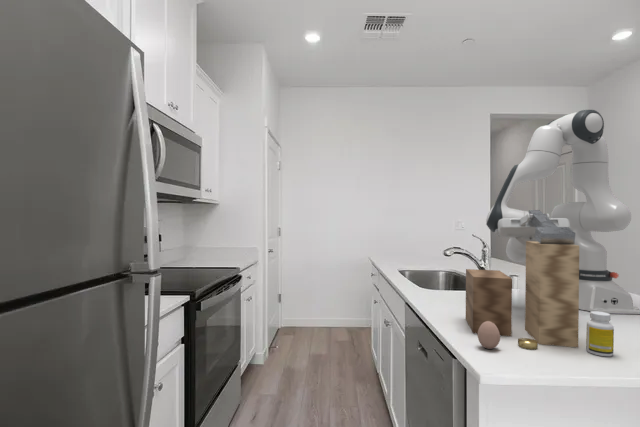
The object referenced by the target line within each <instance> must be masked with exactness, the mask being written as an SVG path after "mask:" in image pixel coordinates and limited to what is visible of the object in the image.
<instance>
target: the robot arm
mask: <svg viewBox="0 0 640 427" xmlns="http://www.w3.org/2000/svg"><path fill="white" fill-rule="evenodd" d="M604 122H605V121H604V118H603V116H602V115H601V113H600V112H599V111H597V110H595V109H583V110H579V111H576V112H572V113H569V114H566V115H563V116H561V117H559V118H557V119H554V120H552V121H549V122H548V123H547V124H546V125H541V126H539V127H537V128H536V129H535V130H534V132H533V134H532V135H531V138H530V141H529V143H528V146H527V150H526V152H525V156H524V158H523V159H522V161H521V162H520V163H519V164H514V166H513V167H512V168H511V170H510V171H509V173H508V176H507V178H506V179H505V180H504V181H503V182H504V183H503V185H502V187H501V188H500V191H499V194H498V195H497V198H496V200H495V203H494V204H493V205H492V207H491V208H490V210H489V211H488V213H487V216H486V219H485V220H486V221H485V222H486V224H485V225H486V226H487V228H488V229H489V230H490V231H491V232H492V233H494V236H498V237H499V238H505V239H507V238H509V239H508V241H507V242H506V247H505V248H506V249H505V253H506V254H505V255H506V256H507V258H508V259H509V260H511V262H515V263H524V262H526V241H535V242H538V241H537V239H536V238H535V228H536V227H535V226H534V225H533V224H532V223H531V222H530V221H532V219H533V214H529V210H521V209H518V208H517V209H516V208H513V207H509V206H508V203H509V200H510V199H511V196H512V194H513V192H514V190H515V189H516V187H517V186H518V185H520V184H523V183H527V182H528V183H529V182H533V181H541V180H545V179H547V178H549V177H551V176H552V175H553V174H554V173H555V172H556V171H557V169H558V167H559V164H560V161H561V156H562V152H563V151H562V150H563V147H568V146H570V148H571V150H572V157H571V158H572V159H571V181H570V182H571V185H572V187H573V188H574V189H576V190H577V191H579V192H581V193H583V194H584V196H585V199H586V200H585V201H571V202H570V201H568V202H564V203H560V204H559V203H558V204H557V205H555V206H554V207H553V209H552V211H551V214H549V213H543V214H544V215H545V216H546V217H548V218H549V219H550V220H551V221H552V222H553V223H554V224H555V225H556V226H557V227H569V228H570V229H571V230H572V231H573V232H574V233H576V234H575V243H574V244H573V245H579V310H583V311H588V312H591V311H598V312H605V313H608V314H614V315H615V314H619V315H620V314H621V315H623V314H624V315H640V308H638V307H636V306H634V300H633V297H632V295H631V294H630V293H629V291H627V290H626V289H625V288H623V287H621V286H620V285H618V284H617V283H616V282H614V281H613V279H618V278H619V277H620V276H619V275H620V274H619V273H617V272H615V271H613V272H611V271H609V270H608V269H607V257H608V256H607V254H608V253H607V249H606V247H605V245H603V244H601V243H600V242H597V241H596V240H595V239H594V238H593V235H592V234H591V232H595V233H596V232H597V233H599V232H601V233H611V232H619V231H620V232H621V231H624V230H626V228H628V226H629V225H630V223H631V221H632V212H631V210H630V208H629V207H628V206H627V204H625V203H624V202H622V201H620V200H619V198H617V197H616V196H615V194H614V193H613V191H612V189H611V186H610V181H609V179H610V178H609V152H608V150H609V149H608V144H607V140H606V138H605V137H604V136H603V133H604V129H605V123H604Z"/></svg>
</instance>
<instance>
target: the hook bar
mask: <svg viewBox="0 0 640 427" xmlns="http://www.w3.org/2000/svg"><path fill="white" fill-rule="evenodd" d="M528 212H529V214H533V219H532V221H530V222H531V223H532V224H533V225H534V226H535V227H536V228H535V238H536V239H537V241H538V242H539V243H540V244H574V243H575V234H576V233H574V232H573V231H572V230H571V229H570V228H569V227H557V226H556V225H555V224H554V223H553V222H552V221H551V220H550V219H549V218H548V217H546V216H545V215H544V214H545V213H544V212H542V211H541V210H540V209H529V210H528Z"/></svg>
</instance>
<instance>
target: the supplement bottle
mask: <svg viewBox="0 0 640 427" xmlns="http://www.w3.org/2000/svg"><path fill="white" fill-rule="evenodd" d="M589 314H590V317H589V318H591V319H589V320H587V321H586V336H585V337H586V343H585V344H586V348H585V350H586V351H587V352H588V353H590V354H592V355H594V356H595V355H596V356H599V357H612V356H614V350H615V349H614V341H615V340H614V338H615V337H614V333H615V332H614V331H615V326H614V325H613V324H612V323H611V322H610V321H611V313H605V312H598V311H589Z"/></svg>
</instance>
